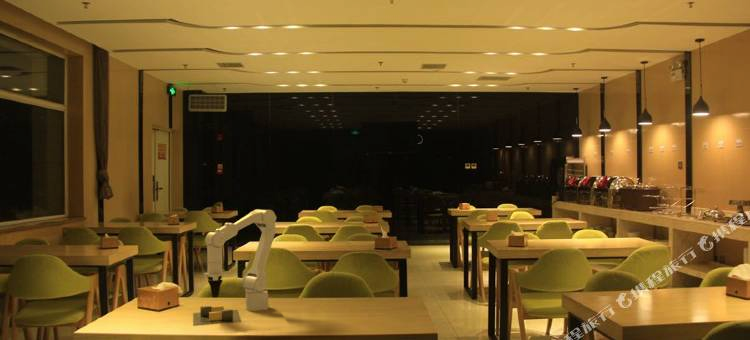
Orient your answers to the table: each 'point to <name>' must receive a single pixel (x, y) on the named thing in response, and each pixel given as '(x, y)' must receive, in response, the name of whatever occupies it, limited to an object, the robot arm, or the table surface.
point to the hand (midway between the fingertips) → (215, 295)
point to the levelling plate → (205, 320)
